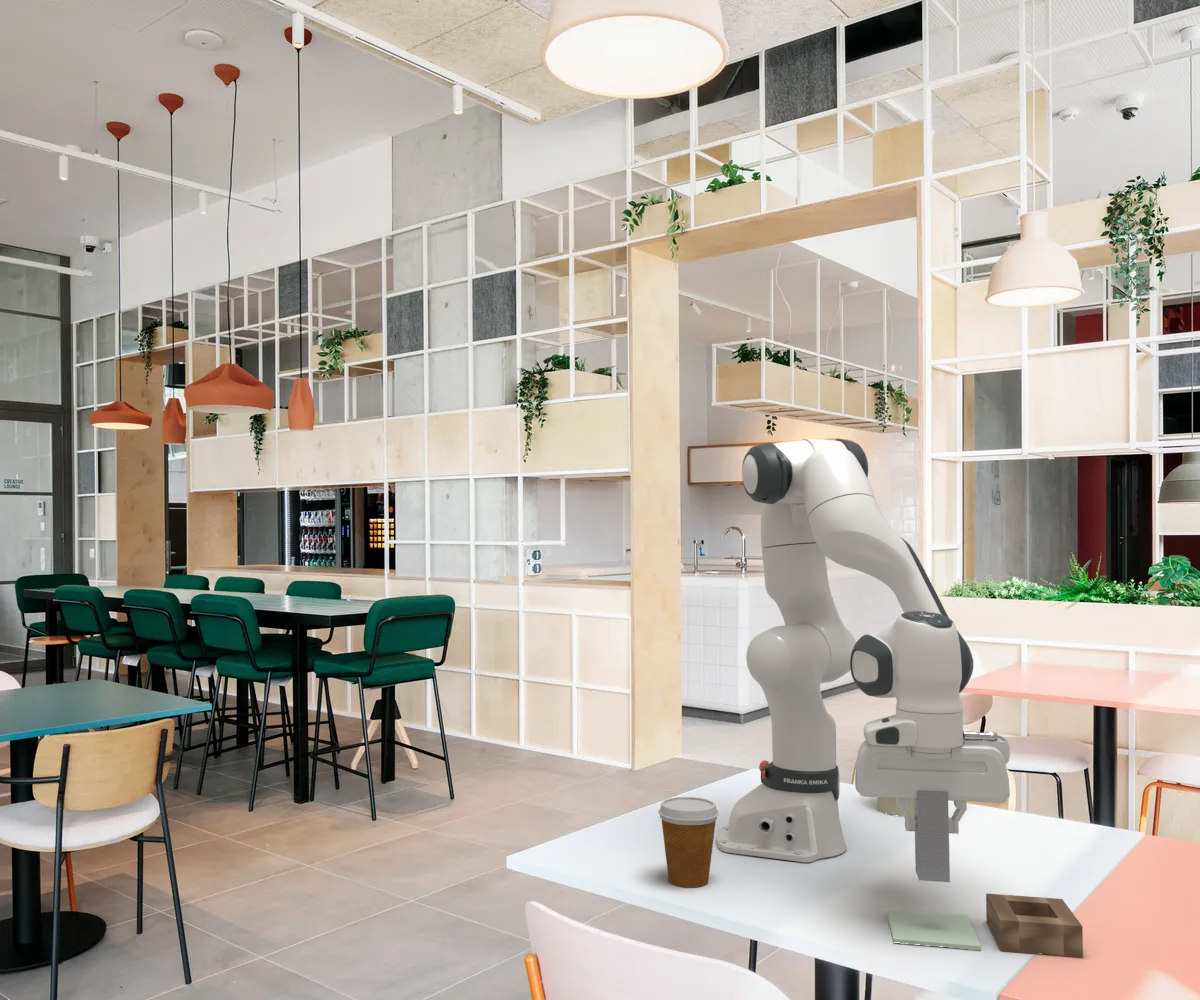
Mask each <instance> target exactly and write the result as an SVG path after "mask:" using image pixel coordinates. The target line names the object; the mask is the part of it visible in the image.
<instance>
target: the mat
mask: <svg viewBox="0 0 1200 1000" xmlns="http://www.w3.org/2000/svg"><path fill="white" fill-rule="evenodd" d="M887 915H888V917H887V920H888V919H889V921H888V925H889V924H890V925H889V929H890V928H891V929H890V933H891V932H892V934H891V937H892V936H893V938H892V940H894V942H900V943H908V944H920V945H930V946H943V947H949V948H948V949H952V948H959V949H958V950H964V949H968V950H967V951H976V950H977V951H978V950H979V951H978V952H981V951H982V945H981V943H980V941H979V939H978V937H977V934H976V932H975V930H974V928H973V925H972V922H971V921H970V919H969V917H968V915H967V914H966V915H965V914H954V913H941V912H933V911H932V912H930V911H916V910H903V909H893V908H892V909H891V908H886V916H887ZM894 942H893V943H894Z"/></svg>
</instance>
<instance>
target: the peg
mask: <svg viewBox="0 0 1200 1000" xmlns="http://www.w3.org/2000/svg"><path fill="white" fill-rule="evenodd" d="M914 812H915V816H916V819H917V825H916V826H917V831H914V848H915V850H914V851H915V852H914V855H915V873H916V876H917V878H918V881H921V882H922V881H923V882H937V883H938V882H939V883H940V882H941V883H951V873H950V872H951V869H950V863H951V862H950V833H949V818H950V817H949V800H948V792H938V791H917V799H914Z"/></svg>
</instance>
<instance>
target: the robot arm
mask: <svg viewBox="0 0 1200 1000" xmlns="http://www.w3.org/2000/svg"><path fill="white" fill-rule="evenodd" d="M741 466H742V467H741V480H742V485H743V488H744V490H745V492H746V494H747V495H748V496H749V497H750V498H751V500H752V501H754V502H757V503H761V504H762V505H761V513H760V542H761V543H760V545H761V556H762V562H763V563H762V564H763V566H762V567H763V574H764V586H765V590H766V593H767V595H768V596H769V598H771V599H772V600H773V601H774V602H775V603H776V605H777V607H778V608H779V609H778V610H779V611H780V613H781V616H782V619H783V622H784V625H777V626H773V627H771V628H769V629H767V630H764V631H763V632H760V633H759V634H757V635H756V636H754V637H753V639H752V640H751V641H750V642H749V645H748V647H747V650H746V657H745V660H746V665H747V669H748V672H749V673H750V675H751V676H752V678H753V680H754V681H756V683H758V685H760V687H761V690H762V691H763V693H764V697H765V699H766V703H767V705H768V706H767V707H768V710H769V713H770V714H769V716H770V720H771V722H770V723H771V740H772V741H771V743H772V744H771V745H772V749H771V750H772V761H771V762H770V761H768V760H765V759H764V760H761V761H760V763H759V765H758V770H759V771H760V782H761V784H759V785H758V786H756V787H755V788H754V789H752V790H751V791H749V792H748V793H746V794H745V795H744V796H743V797H741V798H739V800H738V801H736V802H735V804H734V805H733V807H732V809H731V811H730V815H729V821H728V825H726V826H724V827H722V828H721V829H719V831H717V834H716V840H715V841H716V842H715V843H716V846H717V848H718V849H719V850H720V851H723V852H724V853H729V854H730V853H731V854H738V855H746V856H752V857H758V858H759V857H762V858H767V859H776V860H783V861H793V862H801V863H811V862H814V861H817V860H819V859H825V858H832V857H835V856H838V855H841V854H843V853H845V851H846V849H847V845H846V842H845V838H844V835H843V831H842V829H843V828H842V825H841V819H840V812H839V805H838V804H839V802H838V800H839V798H840V787H841V786H840V784H841V781H840V779H841V778H840V772H839V766H838V765H837V724H836V721H835V719H834V718H833V716H832V715H831V714H830V713H829V712H828V711H827V708H826V706H825V703H824V701H823V697H822V692H821V684H825V683H826V684H827V683H832V682H835V681H837V680H838V679H840V678H842V677H843V676H845V675H846V674H848V673H849V672H850V674H851V677H852V680H853V682H854V684H855V685H856V686H857V688H858V689H859V690H860V691H861V692H863V693H864V694H865V695H867V696H868V697H874V698H878V699H879V698H880V699H882V698H883V699H886V698H887V699H888V698H890V699H891V698H895V699H896V704H895V714H893V715H892V714H891V715H889V716H885V717H882V718H878V719H874V720H871V721H868V722H866V723H865V724H864V727H863V737H864V739H865V740H864V741H863V742H862V743H861V744H860V746H859V748H858V751H857V757H856V764H855V775H854V778H855V779H854V784H855V785H854V786H855V790H856V792H857V793H858V794H859V795H860V796H861V797H868V798H869V797H870V798H877V797H884V798H896V803H897V806H898V807H899V809H900V811H901V813H902V814H903V816H904V817H903V818H904V828H905V831H906V832H915V831H917V826H916V825H917V819H916V816H910V815H909V814H908V812H907V810H906V809H905V807H904V806H908V799H917V791H938V792H948V801H953V806H954V807H955V810H954V812H953V813H952V815H951V817H949V834H952V835H953V834H957V835H958V834H959V831H960V829H959V822H960V821H961V820H962V818H963V817H964V815H965V813H966V811H967V808H968V805H967V802H972V803H973V802H976V803H998V804H1001V803H1002V804H1004V803H1005V802H1006V801H1007V800H1008V799H1009V798H1010V791H1011V790H1010V782H1009V775H1008V769H1007V764H1008V763H1009V761H1010V754H1011V753H1010V744H1009V742H1008V740H1007V739H1006V738H1004V737H1003V736H1001V735H999V734H998V733H997V732H994V731H993V732H992V731H987V732H981V731H967V730H964V713H963V712H964V711H963V710H964V709H963V705H962V701H961V697H960V693H962V691H963V690H965V688H966V686H967V685H968V684H969V682H970V679H971V678H972V675H973V671H974V657H973V653H972V651H971V649H970V647H969V645H968V643H967V642H966V640H965V638H964V637H963V636H962V635H961V633H960V632H959V631H958V629H957V627H956V624H955V622H954V621H953V620H952V619H951V618H950V617H949V615H948V613H947V611H946V609H945V607H944V606H943V604H942V601H941V600H940V598H939V596H938V594H937V592H936V590H935V587H934V586H933V584H932V582H931V580H930V578H929V576H928V574H927V572H926V570H925V569H924V566H923V564H922V562H921V561H920V559H919V558H918V557H919V556H918V555H917V554H916V552H915V551H914V549H913V547H912V546H911V545H910V543H909V542H907V541H906V539H904V538H902V537H901V536H900V535H899V534H898V533H897V532H896V531H895V529H893V528H892V526H891V525H890V523H888V520H887V519H886V518H885V516H884V514H883V513H882V511H881V509H880V506H879V505H878V502H877V499H876V496H875V493H874V490H873V489H872V486H871V483H870V481H869V479H868V477H869V463H868V458H867V455H866V453H865V451H864V449H863V448H862V446H861V445H860V444H859V443H857V442H855V441H851V440H848V439H842V438H835V439H827V438H826V439H823V438H803V439H799V440H789V441H780V442H776V443H775V442H774V443H772V442H769V441H768V442H765V443H761V444H756V445H754V446H752V447H751V448H750V449H749V450H748V451H747V452H746V454H745V456H744V458H743V461H742V465H741ZM826 557H827V558H828V560H831V562H834V563H835V564H838V565H840V566H842V567H845V568H849V569H851V570H854V571H857V572H861V573H864V574H866V575H868V576H871V577H872V578H875V579H877V580H879V581H880V582H882V583H883V584H885V585H886V586H887V587H888V588H889V589H890V590H891V591H892V592H893V594H894V595H895V597H896V599H897V601H898V603H899V606H900V608H901V610H902V612H903V613H901V614H900V615H898V616H897V619H896V620H895V622H894V623H892V624H891V625H890V626H888V627H885V628H883V629H880V630H878V631H877V630H876V631H874V632H872V633H868V634H864V635H863V634H862V636H861V637H860V638H859V639H857V641H856V639H855V637H854V635H853V633H851V631H849V629H848V628H847V627H846V626H845V624H844V623H843V621H842V619H841V617H840V614H839V612H838V608H837V607H836V605H835V602H834V598H833V596H832V592H831V589H830V583H829V579H828V578H829V577H828V570H827V560H826Z"/></svg>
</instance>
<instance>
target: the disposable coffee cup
mask: <svg viewBox="0 0 1200 1000" xmlns="http://www.w3.org/2000/svg"><path fill="white" fill-rule="evenodd" d="M657 812H658V815H659V818H660V819H661V824H662V826H661V827H662V828H661V829H662V835H663V843H664V853H665V854H664V855H665V861H666V862H665V863H666V868H667V877H668V881H669V883H671V884H672V885H674V886H676V887H681V888H699V887H702V886H706V885H707V884H708V883H709V881H710V880H709V879H710V871H711V870H710V869H711V863H712V854H713V848H714V847H713V845H714V838H715V830H716V821H717V820H718V816H719V814H720V813H719V812H720V811H719V810H717V805H716V803H715V802H714V801H712V800H710V799H707V798H702V797H695V796H678V797H671V798H670V797H669V798H666V799H665V800H662V801H661V804H660V808H659V809H658V811H657Z"/></svg>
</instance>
